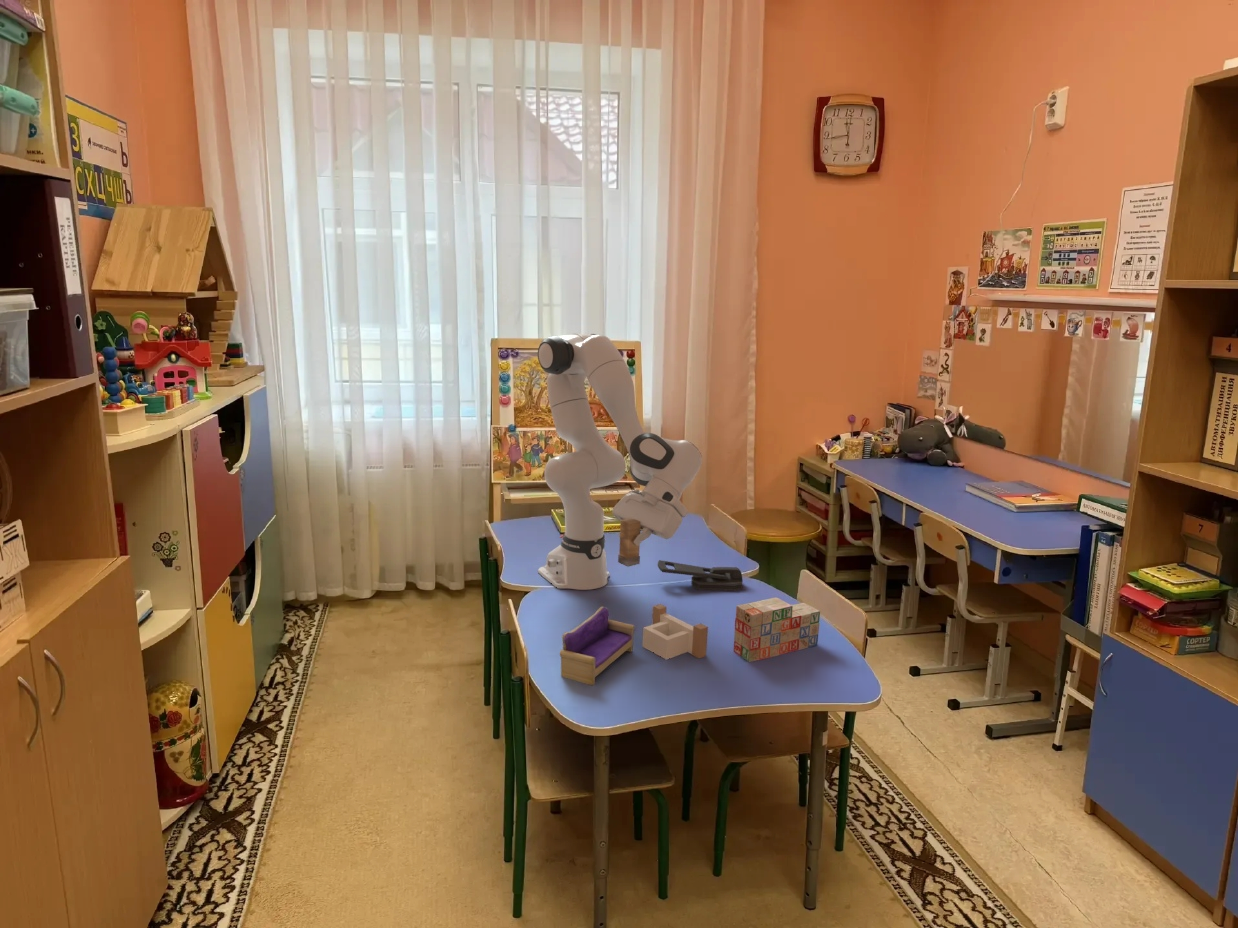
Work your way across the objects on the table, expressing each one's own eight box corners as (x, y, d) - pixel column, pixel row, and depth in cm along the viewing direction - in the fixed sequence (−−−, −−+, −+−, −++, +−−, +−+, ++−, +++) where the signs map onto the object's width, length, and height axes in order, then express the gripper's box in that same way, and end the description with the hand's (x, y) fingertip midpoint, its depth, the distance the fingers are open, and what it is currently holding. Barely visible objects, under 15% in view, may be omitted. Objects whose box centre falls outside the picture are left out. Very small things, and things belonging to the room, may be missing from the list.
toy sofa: (592, 687, 182) (593, 644, 179) (558, 677, 186) (559, 635, 183) (634, 651, 200) (636, 611, 198) (603, 642, 204) (604, 603, 201)
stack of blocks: (801, 636, 211) (805, 590, 208) (817, 646, 206) (822, 599, 203) (732, 652, 201) (736, 604, 198) (748, 662, 196) (752, 614, 193)
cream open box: (631, 640, 205) (632, 612, 203) (658, 631, 211) (660, 603, 209) (678, 666, 193) (680, 636, 191) (706, 655, 198) (707, 626, 197)
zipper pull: (656, 558, 245) (739, 558, 247) (655, 580, 246) (737, 579, 249) (660, 569, 236) (746, 569, 238) (659, 591, 238) (745, 591, 240)
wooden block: (618, 562, 208) (619, 520, 205) (629, 559, 210) (631, 517, 207) (627, 566, 205) (629, 524, 202) (639, 563, 207) (641, 521, 205)
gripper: (626, 480, 215) (595, 522, 211) (680, 499, 200) (648, 545, 196) (638, 494, 219) (608, 536, 215) (693, 514, 204) (661, 559, 200)
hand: (627, 541), depth 206 cm, fingers closed on wooden block, 3 cm apart
